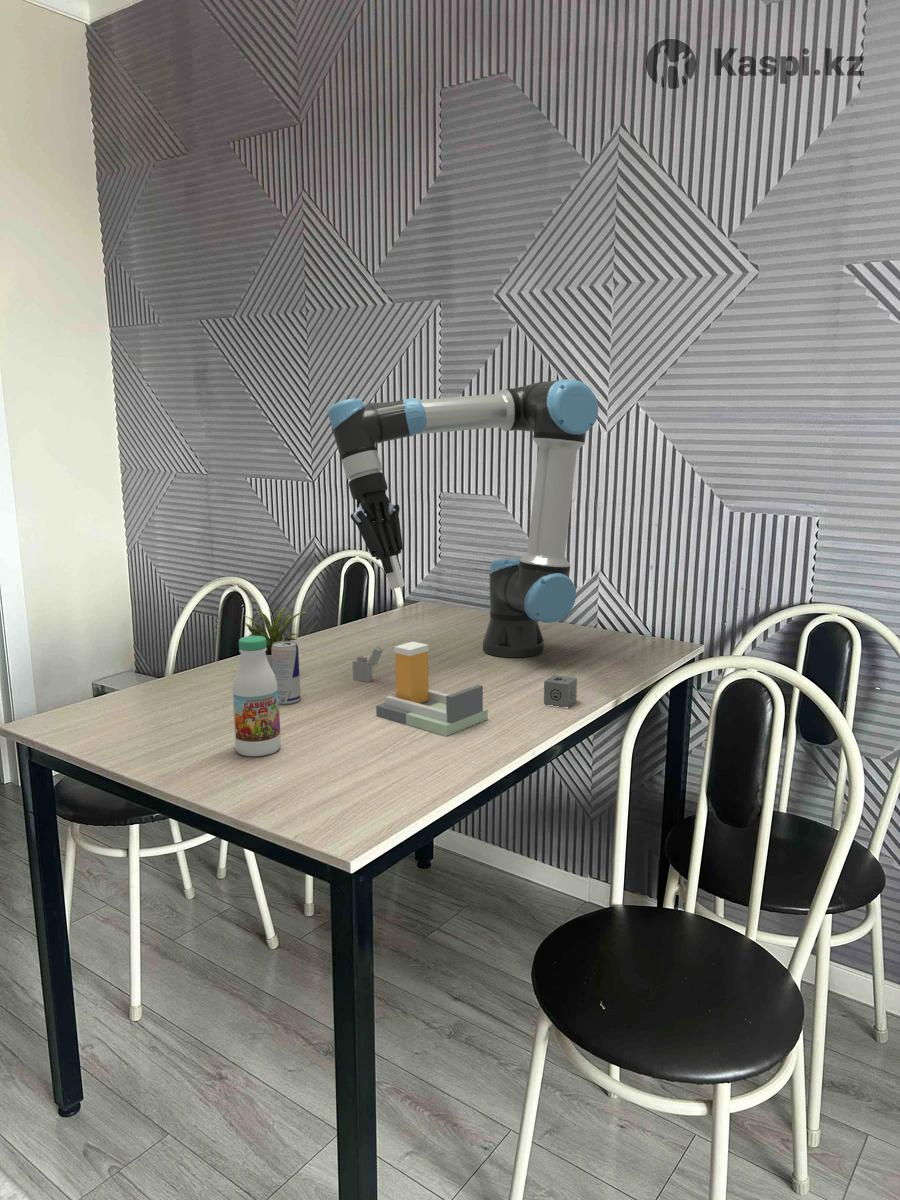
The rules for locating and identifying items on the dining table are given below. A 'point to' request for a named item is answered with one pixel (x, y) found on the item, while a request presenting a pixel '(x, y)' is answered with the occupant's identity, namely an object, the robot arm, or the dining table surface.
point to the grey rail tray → (438, 711)
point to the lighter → (366, 665)
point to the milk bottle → (255, 701)
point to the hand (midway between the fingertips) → (397, 587)
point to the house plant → (272, 630)
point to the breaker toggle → (412, 672)
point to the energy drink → (286, 671)
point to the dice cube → (560, 691)
